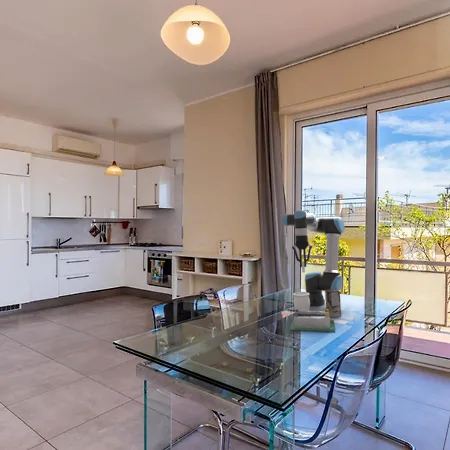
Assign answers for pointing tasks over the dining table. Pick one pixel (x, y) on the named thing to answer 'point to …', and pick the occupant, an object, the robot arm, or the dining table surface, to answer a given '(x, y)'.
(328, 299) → the coffee box
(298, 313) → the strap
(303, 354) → the dining table surface
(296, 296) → the jar
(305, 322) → the heat sink
